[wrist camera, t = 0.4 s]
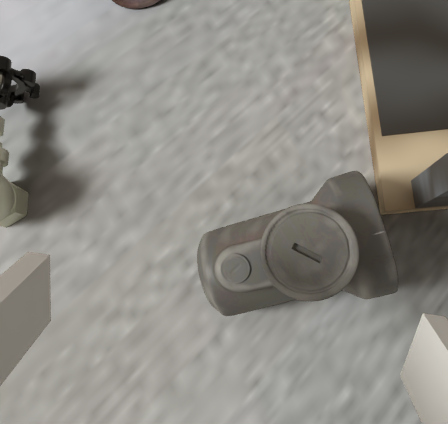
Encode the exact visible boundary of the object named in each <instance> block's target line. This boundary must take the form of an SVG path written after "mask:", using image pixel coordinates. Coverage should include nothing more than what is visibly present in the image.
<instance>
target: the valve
mask: <svg viewBox="0 0 448 424" xmlns="http://www.w3.org/2000/svg"><path fill="white" fill-rule="evenodd" d="M12 80H14V81H15V82H16V83H17V84H16V85H12V86H11V81H12ZM35 81H36V73H35V72H34V71H32V70H29V69H22V70H21V71H17V70H15V69H13V68H11V60H10V59H9V58H7V57H4V56H0V110H1V109H5V108H6V107H11V106H12V105H13V103H23V97H24V92H25V91H26V92H29V93H30V98H38V97H39V92H40V86H39V84H37V83H35ZM4 123H5V120H4V119H3V118H2V117H1V116H0V136H2V135H3V132H4ZM8 160H9V152H8V151H7V150H6V149H4V148H2V143H1V142H0V226H2V227H8V226H10V225H12V224H13V223H15V222H17V221H18V220H20V219H22V218H24V217H25V216H26V215H27V206H28V192H26V191H25V190H23V189H21V188H20V187H18V186H17V185H15V184H13V183H12V182H9V181H8V180H7V179H6V178H5V177H4V176H3V174H2V171H3V167H5V166H7V165H8Z"/></svg>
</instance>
